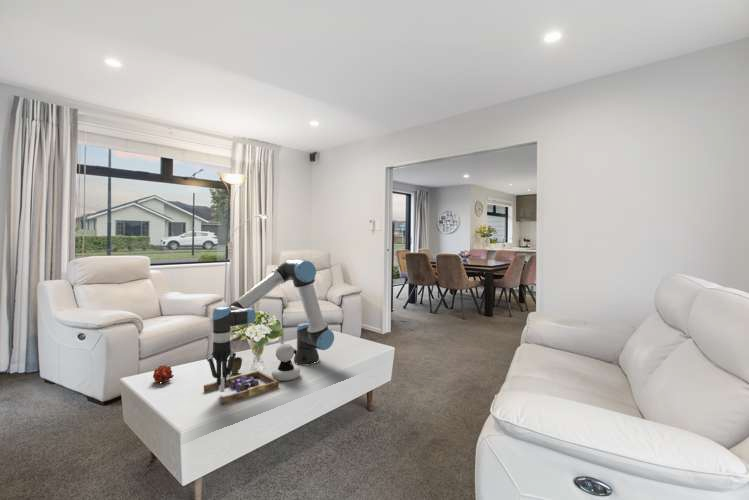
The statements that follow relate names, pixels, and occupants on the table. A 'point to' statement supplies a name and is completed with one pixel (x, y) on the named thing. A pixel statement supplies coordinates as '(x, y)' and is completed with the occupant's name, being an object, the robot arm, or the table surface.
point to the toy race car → (243, 384)
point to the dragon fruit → (162, 374)
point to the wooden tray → (251, 391)
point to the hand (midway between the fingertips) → (221, 391)
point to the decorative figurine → (285, 363)
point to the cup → (236, 365)
